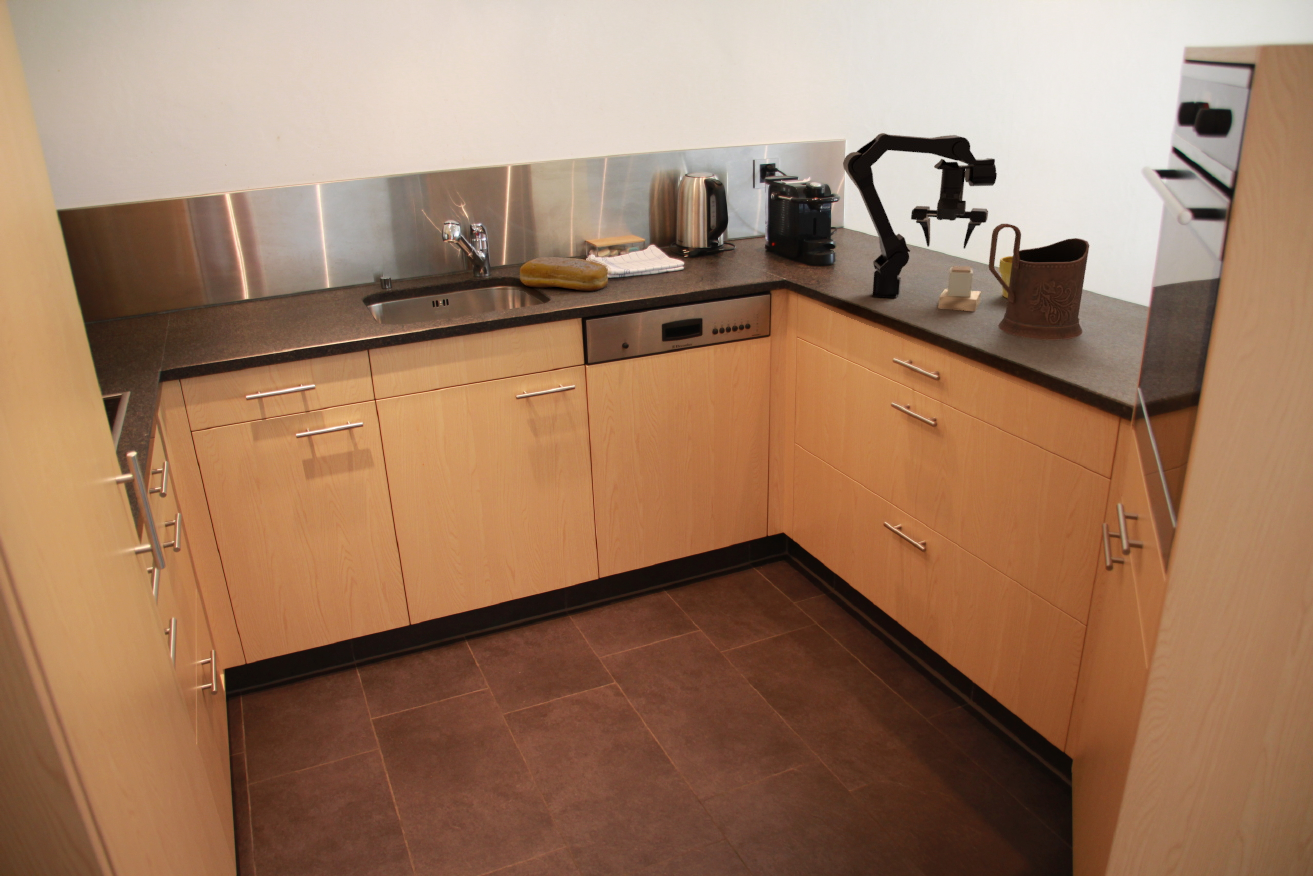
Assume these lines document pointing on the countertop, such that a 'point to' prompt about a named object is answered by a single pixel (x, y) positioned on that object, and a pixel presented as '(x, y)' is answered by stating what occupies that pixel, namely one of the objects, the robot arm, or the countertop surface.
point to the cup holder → (1043, 288)
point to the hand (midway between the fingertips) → (946, 247)
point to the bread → (564, 273)
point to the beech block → (959, 301)
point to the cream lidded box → (960, 281)
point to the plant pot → (1005, 271)
